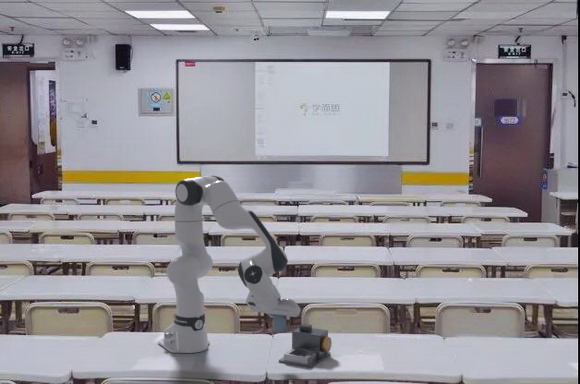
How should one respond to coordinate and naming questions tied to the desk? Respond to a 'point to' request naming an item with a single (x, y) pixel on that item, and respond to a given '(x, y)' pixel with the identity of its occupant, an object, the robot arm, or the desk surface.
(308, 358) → the gray recessed holder
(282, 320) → the bottle
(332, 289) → the desk surface
